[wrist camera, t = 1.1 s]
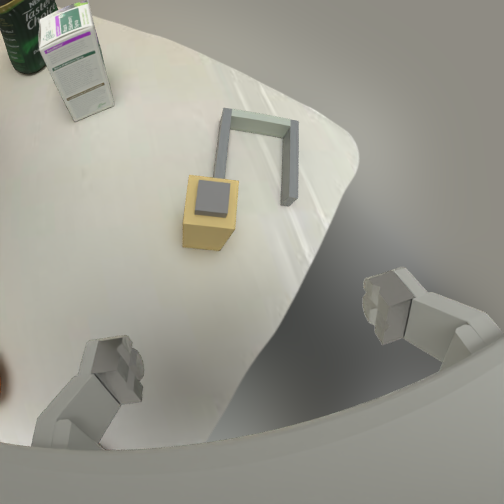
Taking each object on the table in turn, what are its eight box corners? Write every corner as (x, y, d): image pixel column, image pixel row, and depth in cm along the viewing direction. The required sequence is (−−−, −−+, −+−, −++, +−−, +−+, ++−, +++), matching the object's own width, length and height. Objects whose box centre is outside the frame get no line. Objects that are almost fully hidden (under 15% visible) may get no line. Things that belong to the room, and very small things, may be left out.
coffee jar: (34, 81, 32) (-7, -10, 14) (8, 69, 31) (-31, -11, 13) (78, 38, 34) (58, -54, 16) (50, 29, 33) (26, -53, 16)
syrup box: (115, 106, 34) (96, 23, 20) (73, 124, 32) (37, 47, 18) (107, 77, 34) (90, -4, 20) (67, 93, 33) (37, 18, 19)
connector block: (182, 247, 33) (182, 219, 22) (186, 210, 34) (189, 168, 23) (219, 250, 34) (237, 225, 23) (222, 214, 35) (241, 175, 24)
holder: (211, 196, 35) (213, 186, 32) (220, 121, 36) (223, 107, 34) (288, 206, 36) (297, 198, 34) (290, 133, 38) (298, 121, 35)
